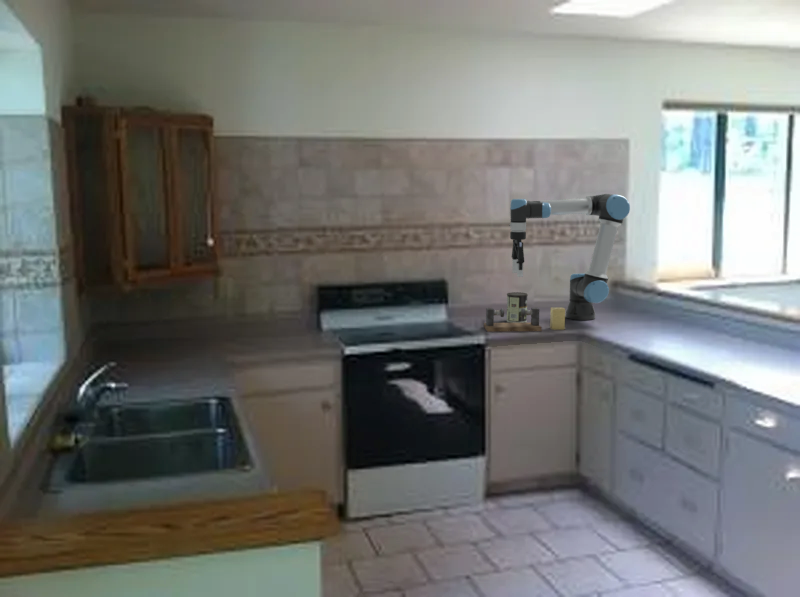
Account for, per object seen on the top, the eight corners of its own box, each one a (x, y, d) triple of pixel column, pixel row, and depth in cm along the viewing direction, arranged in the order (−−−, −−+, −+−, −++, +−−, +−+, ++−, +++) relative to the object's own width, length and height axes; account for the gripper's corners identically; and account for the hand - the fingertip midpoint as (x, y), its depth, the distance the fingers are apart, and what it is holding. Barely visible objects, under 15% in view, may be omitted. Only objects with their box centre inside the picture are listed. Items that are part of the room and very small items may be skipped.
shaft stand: (536, 326, 392) (536, 306, 390) (541, 331, 381) (542, 310, 379) (483, 326, 390) (484, 306, 388) (487, 331, 379) (487, 310, 377)
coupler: (562, 327, 389) (562, 307, 387) (564, 329, 385) (565, 309, 383) (550, 327, 389) (550, 307, 387) (552, 329, 384) (552, 309, 383)
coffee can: (525, 319, 409) (526, 292, 407) (528, 323, 399) (528, 295, 397) (505, 319, 410) (505, 292, 407) (507, 323, 399) (508, 295, 397)
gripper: (506, 229, 398) (505, 271, 402) (514, 233, 374) (514, 278, 377) (521, 228, 398) (520, 271, 402) (530, 233, 374) (530, 278, 378)
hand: (517, 274), depth 390 cm, fingers open, 13 cm apart
